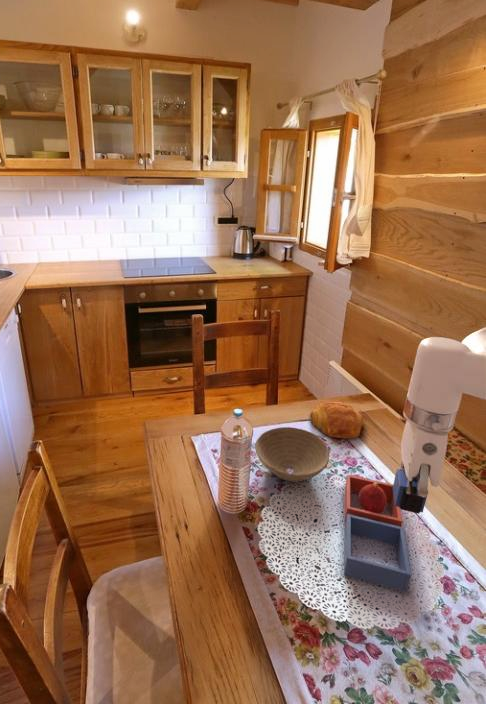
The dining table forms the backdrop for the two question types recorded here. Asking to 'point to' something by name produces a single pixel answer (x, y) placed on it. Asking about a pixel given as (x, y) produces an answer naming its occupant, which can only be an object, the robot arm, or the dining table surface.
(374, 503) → the onion
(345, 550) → the blue bin
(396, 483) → the blue block
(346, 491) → the terracotta bin
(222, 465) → the water bottle
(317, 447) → the bowl
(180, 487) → the dining table surface
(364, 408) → the dining table surface
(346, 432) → the croissant
